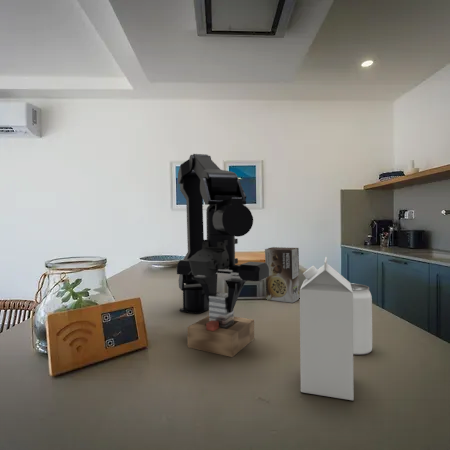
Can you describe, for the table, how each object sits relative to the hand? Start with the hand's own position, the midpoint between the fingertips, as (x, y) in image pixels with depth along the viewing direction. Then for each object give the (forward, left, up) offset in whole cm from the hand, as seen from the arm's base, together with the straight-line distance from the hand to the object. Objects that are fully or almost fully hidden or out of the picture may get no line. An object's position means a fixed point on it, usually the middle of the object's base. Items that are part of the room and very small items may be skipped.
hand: (221, 310), depth 64 cm
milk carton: (+22, -7, -7) cm, 24 cm away
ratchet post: (0, 0, -5) cm, 5 cm away
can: (+24, +9, -7) cm, 26 cm away
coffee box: (0, +39, -7) cm, 40 cm away
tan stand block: (0, 0, -6) cm, 6 cm away
